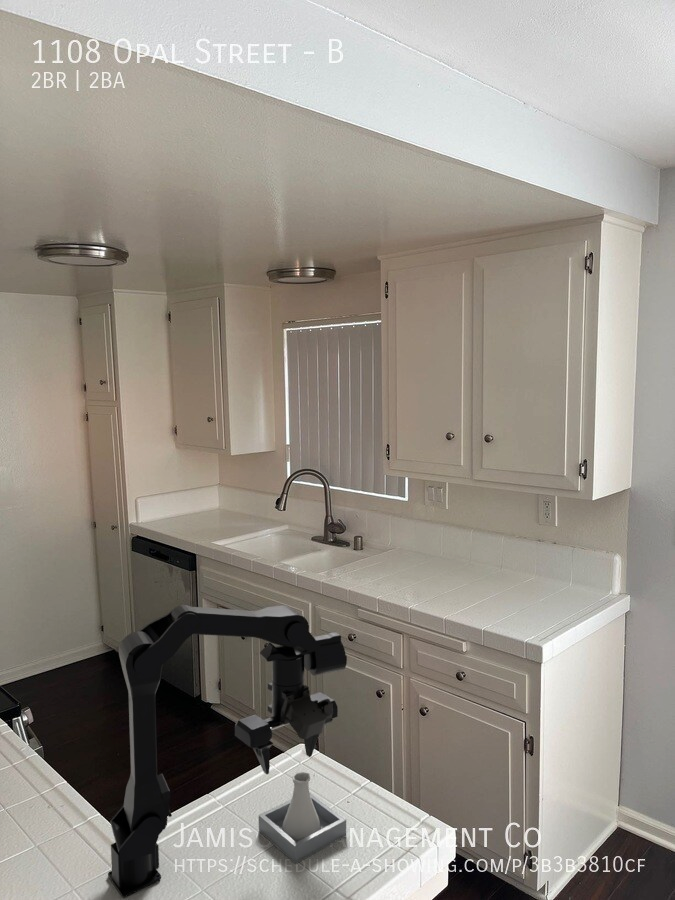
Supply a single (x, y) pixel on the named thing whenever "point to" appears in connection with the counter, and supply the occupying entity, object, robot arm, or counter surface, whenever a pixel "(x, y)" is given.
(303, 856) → the box
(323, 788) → the counter surface
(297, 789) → the flask
